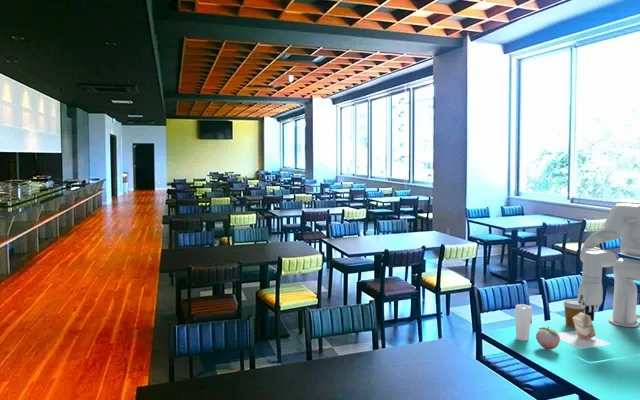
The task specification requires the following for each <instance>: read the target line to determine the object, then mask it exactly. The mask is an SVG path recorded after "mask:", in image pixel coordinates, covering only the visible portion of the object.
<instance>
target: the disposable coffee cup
mask: <svg viewBox="0 0 640 400" xmlns="http://www.w3.org/2000/svg"><path fill="white" fill-rule="evenodd" d="M563 306H564V315H565V318H564V319H565V325H566V326H567V327H570V328H574V329H576V328H575V325H574V321H573V318H572V317H574V316H576V315H577V314H579V313H580V312H581V313H584V314H585V310H584V309H583V308H580V304H579V303H578V302H577V299H571V298H568V299H565V300H564V301H563Z"/></svg>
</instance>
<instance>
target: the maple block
mask: <svg viewBox="0 0 640 400" xmlns="http://www.w3.org/2000/svg"><path fill="white" fill-rule="evenodd" d="M572 318H573V321H574V325H575V328H574V329H575V331H577V334H578V337H580V338H582V339H585V340H587V341H588V340H589V339H591V338H592V337H596V336H597V335H596V332H595V327H594V324H593V321H591V317H590V315H587V314H585V312H584V313H581V312H580V313H579V314H577V315H576V316H574V317H572Z"/></svg>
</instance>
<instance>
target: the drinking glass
mask: <svg viewBox="0 0 640 400" xmlns="http://www.w3.org/2000/svg"><path fill="white" fill-rule="evenodd" d="M514 309H515V311H514V318H515V320H514V321H515V339H516V340H518V341H521V342H527V341H529V339H530V331H531V330H530V329H531V324H532V323H531V322H532V317H533V316H532V314H533V307H532V306H531V305H528V304H524V303H523V304H522V303H518V304H516V305H515V308H514Z"/></svg>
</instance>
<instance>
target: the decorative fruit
mask: <svg viewBox="0 0 640 400" xmlns="http://www.w3.org/2000/svg"><path fill="white" fill-rule="evenodd" d="M558 333H559V332H557V331H556V330H554V329H553V328H550V327H549V326H547V327H544V326H543V327H539V328H538V331H537V332H536V334H535V339H536V342H537V343H538V344H539V345H540V346H541V347H542V348H543V349H545V350H547V351H550V350H555V349H556V348H557V347H558V346H559V344H560V341H561V340H560V336H559V334H558Z"/></svg>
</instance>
